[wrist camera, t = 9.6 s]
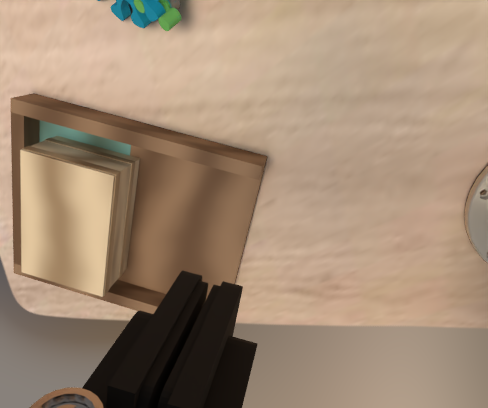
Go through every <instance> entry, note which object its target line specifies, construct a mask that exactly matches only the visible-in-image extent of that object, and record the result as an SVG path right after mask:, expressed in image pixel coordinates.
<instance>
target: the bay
mask: <svg viewBox="0 0 488 408" xmlns="http://www.w3.org/2000/svg"><path fill="white" fill-rule="evenodd" d="M55 136H60V137H64V138H67V139H71V140H75V141H78V142H82V143H85V144H89V145H93V146H96V147H100V148H104V149H107V150H111V151H114V152H118V153H122V154H125V155H129V156H133V157H136V158H140V161H139V169H138V177H137V186H136V194H135V203H134V211H133V219H132V228H131V236H130V244H129V253H128V261H127V268H126V270H125V271H124V272H123V274H122V275H121V277H120V278H118V279H117V280H116V282H115V283H114V284H113V285H112V286H111V288H110V289H109V291H108V292H107V293H106V295H105V296H103V297H101V296H98V295H95V294H91V293H88V292H85V291H81V290H78V289H75V288H72V287H68V286H65V285H62V284H58V283H55V282H52V281H49V280H45V279H42V278H39V277H36V276H32V275H29V274H26V273H22V272H21V169H20V150H21V149H22V148H24V147H27V146H32V145H34V144H37V143H39V142H42V141H45V139H48V138H53V137H55ZM11 143H12V196H13V249H14V273H16V274H19V275H22V276H25V277H29V278H32V279H35V280H38V281H42V282H45V283H48V284H52V285H55V286H58V287H61V288H65V289H68V290H71V291H74V292H78V293H81V294H84V295H88V296H91V297H94V298H97V299H101V300H104V301H107V302H110V303H114V304H117V305H120V306H124V307H127V308H130V309H133V310H137V311H144V312H147V313H151V314H154V312H155V311H156V309H157V308H158V306H159V305H160V303H161V302H162V300H163V299H164V297H165V295H166V294H167V292H168V291H169V289H170V288H171V286H172V285H173V283H174V282H175V280H176V278H177V277H178V275H179V274H180V272H181V271H187V272H191V273H194V274H198V275H202V281H203V282H207V283H208V290H207V296H206V299H207V297H208V295H209V293H210V291H211V289H212V287H213V285H218V286H221V284H222V282H223V281H224V282H228V283H232V284H235V281H236V277H237V273H238V269H239V265H240V261H241V257H242V254H243V250H244V246H245V242H246V238H247V234H248V230H249V226H250V222H251V218H252V214H253V211H254V207H255V203H256V199H257V195H258V191H259V187H260V183H261V179H262V175H263V172H264V168H265V164H266V160H267V156H264V155H260V154H256V153H253V152H249V151H245V150H242V149H238V148H234V147H230V146H227V145H223V144H219V143H216V142H212V141H208V140H204V139H201V138H197V137H193V136H190V135H186V134H182V133H178V132H175V131H171V130H167V129H164V128H160V127H156V126H152V125H149V124H145V123H141V122H138V121H134V120H130V119H126V118H123V117H119V116H115V115H112V114H108V113H104V112H100V111H97V110H93V109H89V108H86V107H82V106H78V105H74V104H71V103H67V102H63V101H60V100H56V99H52V98H48V97H45V96H41V95H37V94H29V95H24V96H19V97H14V98H11Z"/></svg>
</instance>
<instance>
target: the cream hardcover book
mask: <svg viewBox="0 0 488 408" xmlns="http://www.w3.org/2000/svg"><path fill="white" fill-rule="evenodd" d="M139 161H140V158H136V157H133V156H129V155H125V154H122V153H118V152H114V151H111V150H107V149H104V148H100V147H96V146H93V145H89V144H85V143H82V142H78V141H75V140H71V139H67V138H64V137H60V136H55V137H53V138H48V139H45V141H42V142H39V143H37V144H34V145H32V146H27V147H24V148H22V149H21V150H20V169H21V272H22V273H26V274H29V275H32V276H36V277H39V278H42V279H45V280H49V281H52V282H55V283H58V284H62V285H65V286H68V287H72V288H75V289H78V290H81V291H85V292H88V293H91V294H95V295H98V296H101V297H103V296H105V295H106V293H107V292H108V291H109V289H110V288H111V286H112V285H113V284H114V283H115V282H116V280H117V279H118V278H120V277H121V275H122V274H123V272H124V271H125V270H126V268H127V261H128V253H129V244H130V236H131V228H132V219H133V211H134V203H135V194H136V186H137V177H138V169H139Z"/></svg>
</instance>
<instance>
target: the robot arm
mask: <svg viewBox="0 0 488 408" xmlns="http://www.w3.org/2000/svg"><path fill="white" fill-rule="evenodd" d="M484 189H485V190H484ZM482 190H484V192H483V193H480V192H481V191H482ZM464 219H465V226H466V231H467V234H468V237H469V239H470V242H471V243H472V245H473V246H474V248H475V249H476V251H477V252H478V254H479V255H480V256H481V257H482V259H483V260H484V261H485V262H487V263H488V165H487V167H486V168H485V169H484V170H483V172H482V173H481V174H480V175H479V176H478V178H477V179H476V181H475V183H474V185H473V187H472V188H471V190H470V193H469V196H468V199H467V202H466V206H465V217H464ZM242 288H243V287H242V286H239V285H235V284H232V283H228V282H224V281H223V282H222V284H221V286H218V285H213V287H212V289H211V291H210V293H209V295H208V297H207V299H206V296H207V290H208V283H207V282H203V281H202V275H198V274H194V273H191V272H187V271H181V272H180V274H179V275H178V277H177V278H176V280H175V282H174V283H173V285H172V286H171V288H170V289H169V291H168V292H167V294H166V295H165V297H164V299H163V300H162V302H161V303H160V305H159V306H158V308H157V309H156V311H155V312H154V314H151V313H147V312H144V311H138V312H137V313H136V314H135V315H134V316H133V318H132V319H131V320H130V322H129V323H128V325H127V326H126V327H125V329H124V330H123V332H122V333H121V334H120V336H119V337H118V339H117V340H116V341H115V343H114V344H113V346H112V347H111V348H110V350H109V351H108V353H107V354H106V355H105V357H104V358H103V360H102V361H101V363H100V364H99V365H98V367H97V368H96V369H95V371H94V372H93V374H92V375H91V376H90V378H89V379H88V381H87V382H86V383H85V385H84V386H83V388H63V389H59V390H55V391H53V392H51V393H48V394H46V395H44V396H43V397H42V398H40V399H39V400H38V401H36V402H35V403H34V404H33V405H32V406H31V407H30V408H242V405H243V401H244V397H245V392H246V389H247V384H248V381H249V376H250V372H251V368H252V364H253V360H254V356H255V352H256V348H257V343H253V342H250V341H246V340H243V339H239V338H236V337H232V336H233V332H234V327H235V322H236V317H237V313H238V308H239V303H240V298H241V293H242Z"/></svg>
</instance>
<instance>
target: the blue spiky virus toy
mask: <svg viewBox="0 0 488 408" xmlns="http://www.w3.org/2000/svg"><path fill="white" fill-rule="evenodd" d="M98 1H100V0H98ZM128 3H129V4H130V5H131V7H132V9H133V13H132V14H131V11H130V8H129V4H128ZM179 8H180V1H179V0H116V3H115V4H113V5H112V6H111V10H112V12H113V13H114V14H115V15H116V16H117V17H118V18H119V19H120V20H121V21H123V20H125V19H126V18H127V17H129V16H130V15H131V19H132V21H133V23H134V24H135V25H137V26H139V27H141V28H145V27H146V26H147V25H149V24H150V23H151V21H156V20H157V19H158V18H159V19H158V21H159V24H160V26H161V27H162V28H163V29H164V30H165V31H169V30H170V29H171V28H172V27H174V26H175V25H176V24H177V23H178V22H180V21H181V15H180V13H179V11H178V9H179Z"/></svg>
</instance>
